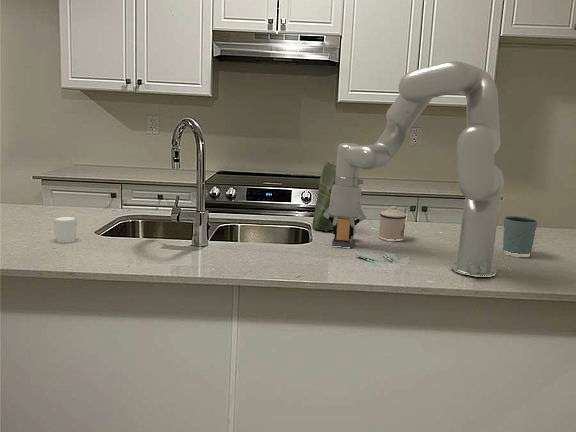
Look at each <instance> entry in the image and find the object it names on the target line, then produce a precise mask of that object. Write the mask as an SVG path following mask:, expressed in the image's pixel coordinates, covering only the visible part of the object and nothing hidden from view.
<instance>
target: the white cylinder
mask: <svg viewBox="0 0 576 432" xmlns="http://www.w3.org/2000/svg"><path fill="white" fill-rule="evenodd" d="M77 224H78V217H75V216H58V217H54V218H53V227H54V233H55V234H54V235H55V241H56V242H57V243H60V244H69V243H73V242H76V240H77V239H76V238H77V227H78V225H77Z"/></svg>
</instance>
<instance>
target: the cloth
mask: <svg viewBox="0 0 576 432" xmlns="http://www.w3.org/2000/svg"><path fill="white" fill-rule="evenodd" d="M383 255H385V256H387V258H390V259H391V260H392V261H394V262H396V263H398V264H399V263H400V261H399V260H400V259H401V258H399V257H398V258H396V256H398V255H397V254H395V253H394V254H391V253H387V252H384V253H383V254H382V256H383ZM356 256H358V257H362V258H365V259H369V260H372V261H377V263H382V264H386V263H387V262H385V261H382V260H379V259H377V258H375V257H373V256H371V255H367V254H365V253H357V254H355V257H356ZM376 259H377V260H376ZM365 264H366V265H369V266H372V267H373V266H374V267H381V266H380V265H377V264H376V263H374V262H368V263H365ZM386 265H387V264H386Z"/></svg>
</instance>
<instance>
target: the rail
mask: <svg viewBox="0 0 576 432" xmlns="http://www.w3.org/2000/svg"><path fill="white" fill-rule="evenodd" d="M354 236H355V233H354V234H353V236H351V239H349V241H345V240H336V238H335V236H334V237H333V239H332V241H331V242H332V244H331V247H332V246H341V247H351V248H352V246H353V243H352V241H354V239H353V238H354ZM351 245H352V246H351Z"/></svg>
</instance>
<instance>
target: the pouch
mask: <svg viewBox="0 0 576 432" xmlns="http://www.w3.org/2000/svg"><path fill="white" fill-rule="evenodd" d="M335 178H336V164H335V162H333V163H331V162H329V161H325V162H324V164H323V167H322V169H321V174H320V178H319V187H318V190H317V191H318V192H317V198H316V202H315V207H314V213H313V219H312V225H311V228H312V229H313V230H317V231H325V232H329V231H333V226H334V225H333V224H332V223H331V222H330V220H329V219H327V218H326V217H325V216H324V215H323V214H324V212H325V211H326V210H327V208H328V207H329V205H330V197H331V191H332V187H333V185H335ZM329 215H330V214H329ZM332 217H333V218H334V216H332ZM337 222H338V221H337Z"/></svg>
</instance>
